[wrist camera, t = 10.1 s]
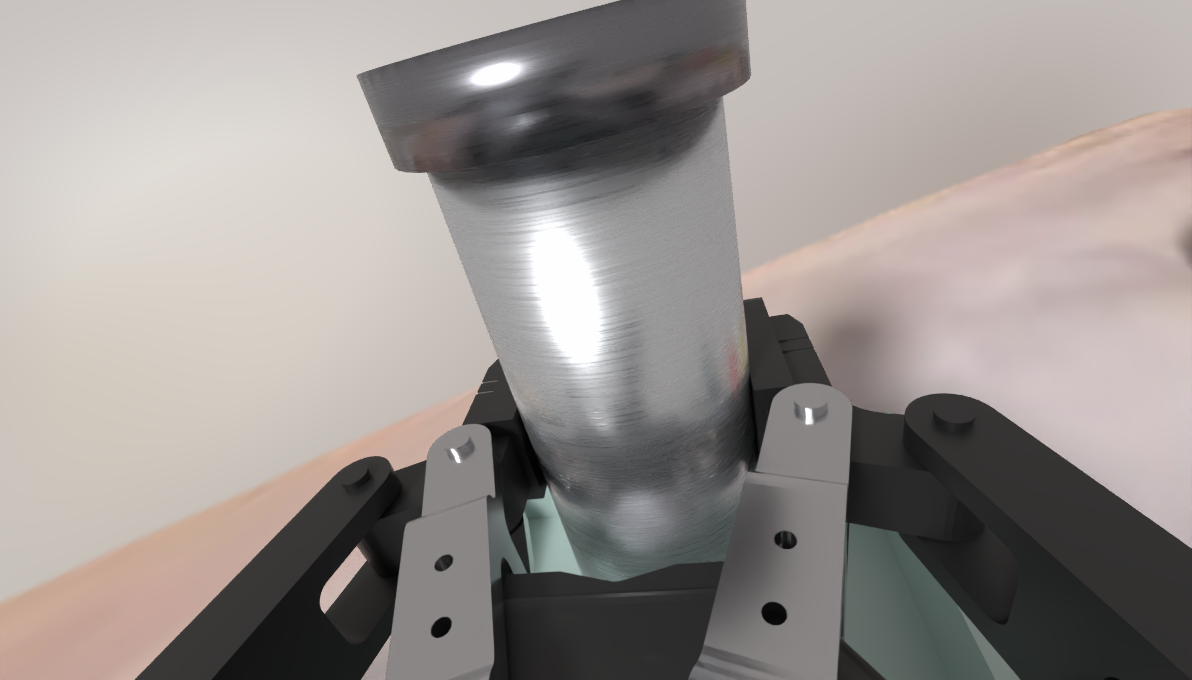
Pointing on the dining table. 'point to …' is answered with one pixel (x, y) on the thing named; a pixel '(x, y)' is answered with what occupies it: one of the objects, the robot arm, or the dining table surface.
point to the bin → (856, 605)
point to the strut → (601, 257)
